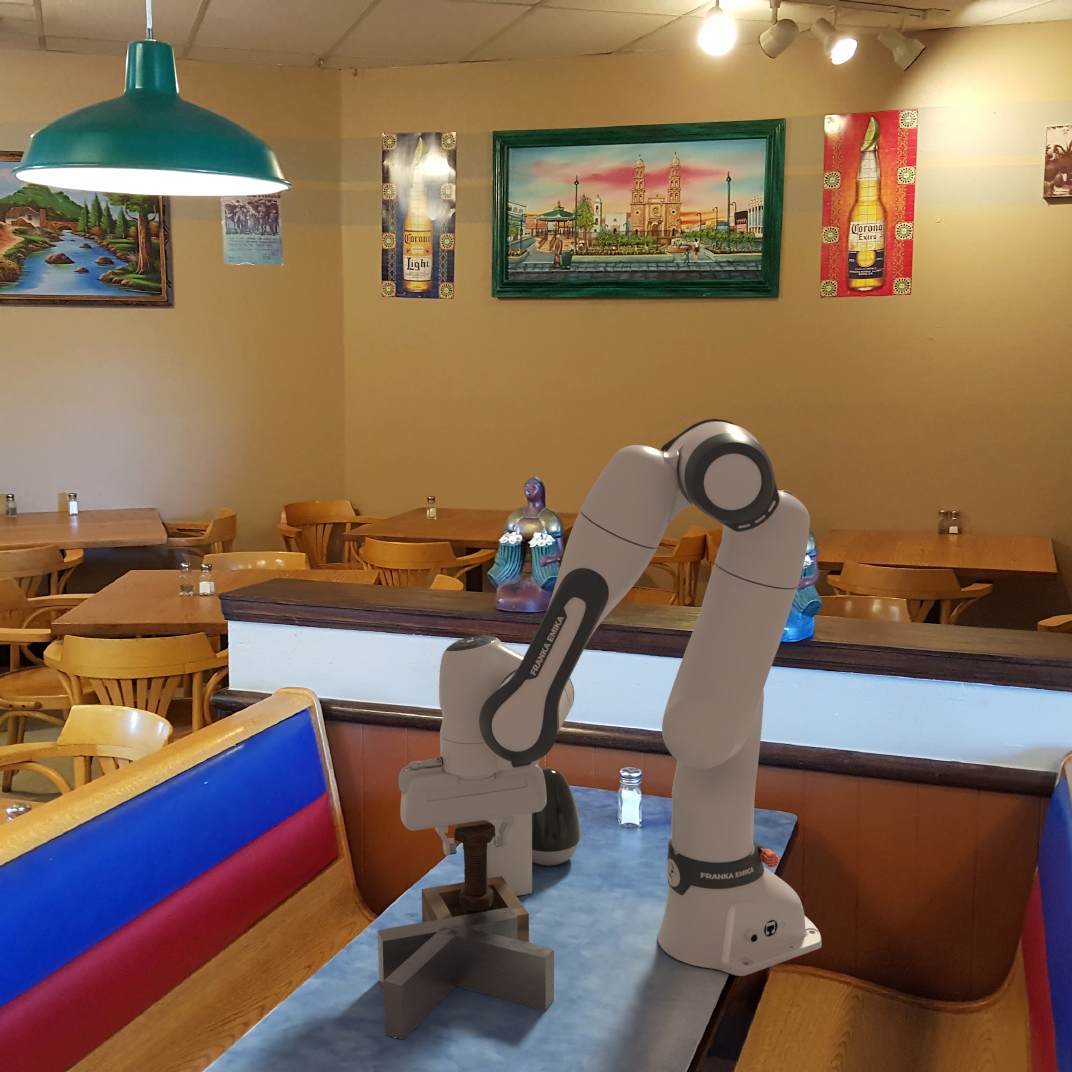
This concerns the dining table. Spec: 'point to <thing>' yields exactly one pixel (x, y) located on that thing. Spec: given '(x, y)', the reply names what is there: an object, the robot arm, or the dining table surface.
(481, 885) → the bolt
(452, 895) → the bore block
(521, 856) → the milk carton
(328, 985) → the dining table surface
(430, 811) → the robot arm
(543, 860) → the black egg shape
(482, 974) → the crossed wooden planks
